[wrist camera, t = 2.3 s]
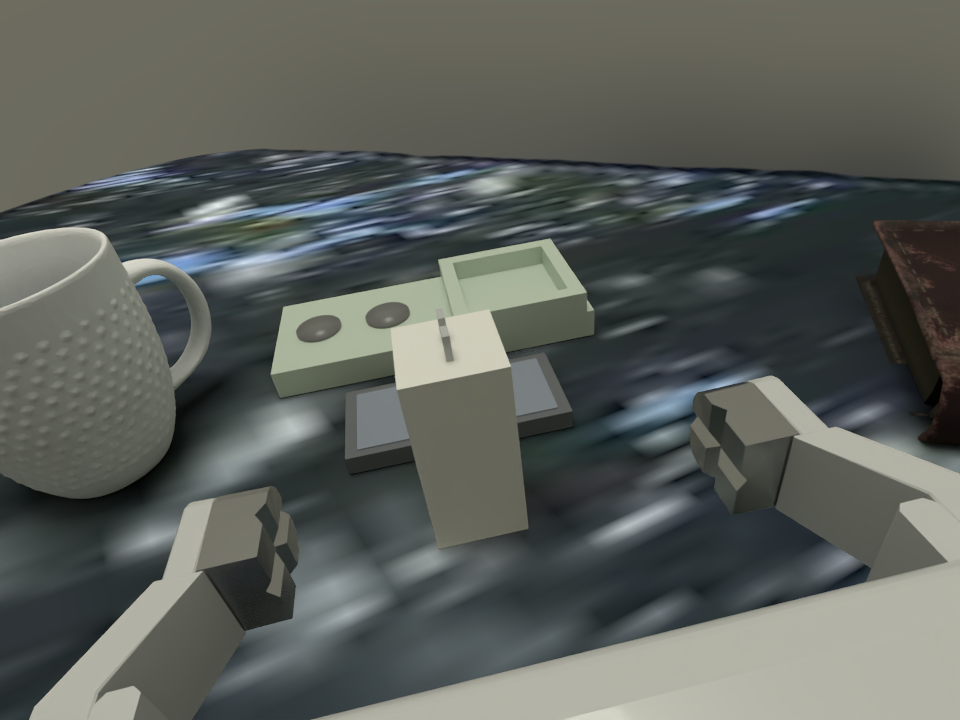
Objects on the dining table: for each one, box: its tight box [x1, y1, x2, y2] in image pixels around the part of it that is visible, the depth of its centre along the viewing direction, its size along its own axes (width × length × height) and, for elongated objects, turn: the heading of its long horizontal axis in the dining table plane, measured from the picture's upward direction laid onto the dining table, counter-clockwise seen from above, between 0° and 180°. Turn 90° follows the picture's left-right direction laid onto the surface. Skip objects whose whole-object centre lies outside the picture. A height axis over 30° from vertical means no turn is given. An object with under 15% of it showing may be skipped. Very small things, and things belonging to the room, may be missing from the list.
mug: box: [0, 228, 211, 499], centre depth 34 cm, size 15×11×13 cm
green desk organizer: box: [271, 239, 594, 398], centre depth 43 cm, size 22×9×4 cm, turn 100°
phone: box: [345, 352, 573, 474], centre depth 35 cm, size 13×6×1 cm, turn 100°
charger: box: [391, 308, 529, 549], centre depth 27 cm, size 4×4×11 cm
